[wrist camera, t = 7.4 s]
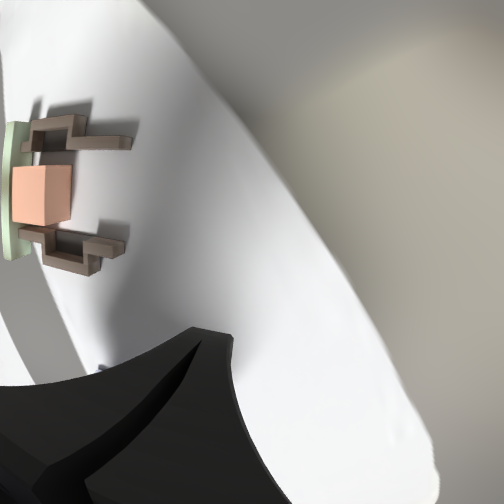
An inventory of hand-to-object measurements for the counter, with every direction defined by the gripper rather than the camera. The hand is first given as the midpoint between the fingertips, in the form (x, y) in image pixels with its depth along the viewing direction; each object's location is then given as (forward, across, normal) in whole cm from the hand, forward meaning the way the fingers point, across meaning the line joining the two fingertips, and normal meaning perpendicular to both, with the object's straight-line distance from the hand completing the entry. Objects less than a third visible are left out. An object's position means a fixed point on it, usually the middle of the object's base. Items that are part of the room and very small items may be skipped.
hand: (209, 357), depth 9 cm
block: (+10, +16, -3) cm, 19 cm away
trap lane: (+9, +14, -4) cm, 17 cm away
